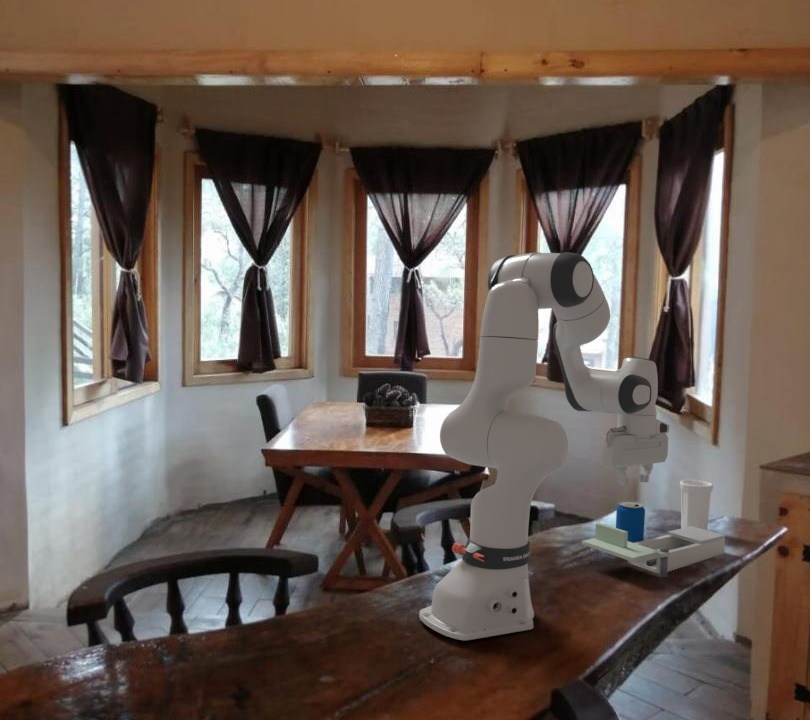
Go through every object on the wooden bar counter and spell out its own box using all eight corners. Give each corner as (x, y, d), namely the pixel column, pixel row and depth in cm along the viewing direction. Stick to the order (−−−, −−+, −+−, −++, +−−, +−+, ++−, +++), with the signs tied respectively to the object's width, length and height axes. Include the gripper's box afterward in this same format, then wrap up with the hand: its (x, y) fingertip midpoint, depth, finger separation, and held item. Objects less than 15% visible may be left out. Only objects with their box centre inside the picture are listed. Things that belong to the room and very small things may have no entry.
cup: (687, 531, 198) (689, 478, 197) (716, 538, 192) (719, 483, 191) (671, 536, 193) (673, 482, 192) (700, 544, 186) (703, 487, 186)
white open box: (664, 578, 161) (665, 554, 160) (623, 563, 170) (624, 541, 169) (730, 558, 175) (732, 537, 175) (690, 546, 184) (691, 526, 184)
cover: (670, 555, 161) (671, 535, 161) (638, 563, 155) (639, 543, 155) (613, 537, 174) (614, 519, 174) (581, 544, 168) (582, 525, 168)
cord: (650, 566, 166) (650, 562, 166) (646, 565, 167) (646, 560, 167) (710, 550, 179) (710, 546, 179) (706, 549, 180) (707, 545, 180)
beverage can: (645, 558, 174) (648, 508, 173) (617, 556, 175) (620, 506, 174) (639, 549, 181) (641, 500, 180) (612, 547, 181) (614, 499, 180)
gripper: (618, 429, 168) (615, 489, 168) (674, 425, 179) (671, 482, 180) (596, 425, 173) (593, 484, 174) (652, 422, 185) (649, 477, 185)
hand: (633, 483), depth 177 cm, fingers open, 6 cm apart
